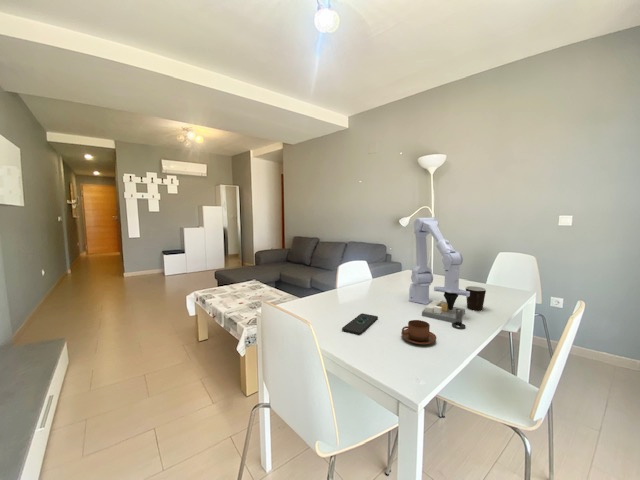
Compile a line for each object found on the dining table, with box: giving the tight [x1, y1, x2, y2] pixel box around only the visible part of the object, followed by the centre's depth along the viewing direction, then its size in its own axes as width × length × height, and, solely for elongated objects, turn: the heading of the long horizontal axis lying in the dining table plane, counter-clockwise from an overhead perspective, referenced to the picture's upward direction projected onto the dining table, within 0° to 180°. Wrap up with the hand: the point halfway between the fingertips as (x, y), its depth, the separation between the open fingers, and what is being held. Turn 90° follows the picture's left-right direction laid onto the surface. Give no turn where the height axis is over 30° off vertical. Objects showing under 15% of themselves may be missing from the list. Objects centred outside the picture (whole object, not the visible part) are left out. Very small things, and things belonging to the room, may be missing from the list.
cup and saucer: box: [401, 319, 437, 346], centre depth 101 cm, size 12×12×6 cm
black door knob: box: [451, 309, 466, 330], centre depth 112 cm, size 5×5×7 cm
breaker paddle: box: [440, 303, 449, 311], centre depth 126 cm, size 3×2×3 cm, turn 49°
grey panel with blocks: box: [421, 299, 466, 324], centre depth 126 cm, size 14×16×5 cm
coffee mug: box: [465, 285, 487, 312], centre depth 132 cm, size 12×9×10 cm
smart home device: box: [341, 312, 379, 336], centre depth 115 cm, size 8×2×20 cm
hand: (450, 309), depth 124 cm, fingers closed
